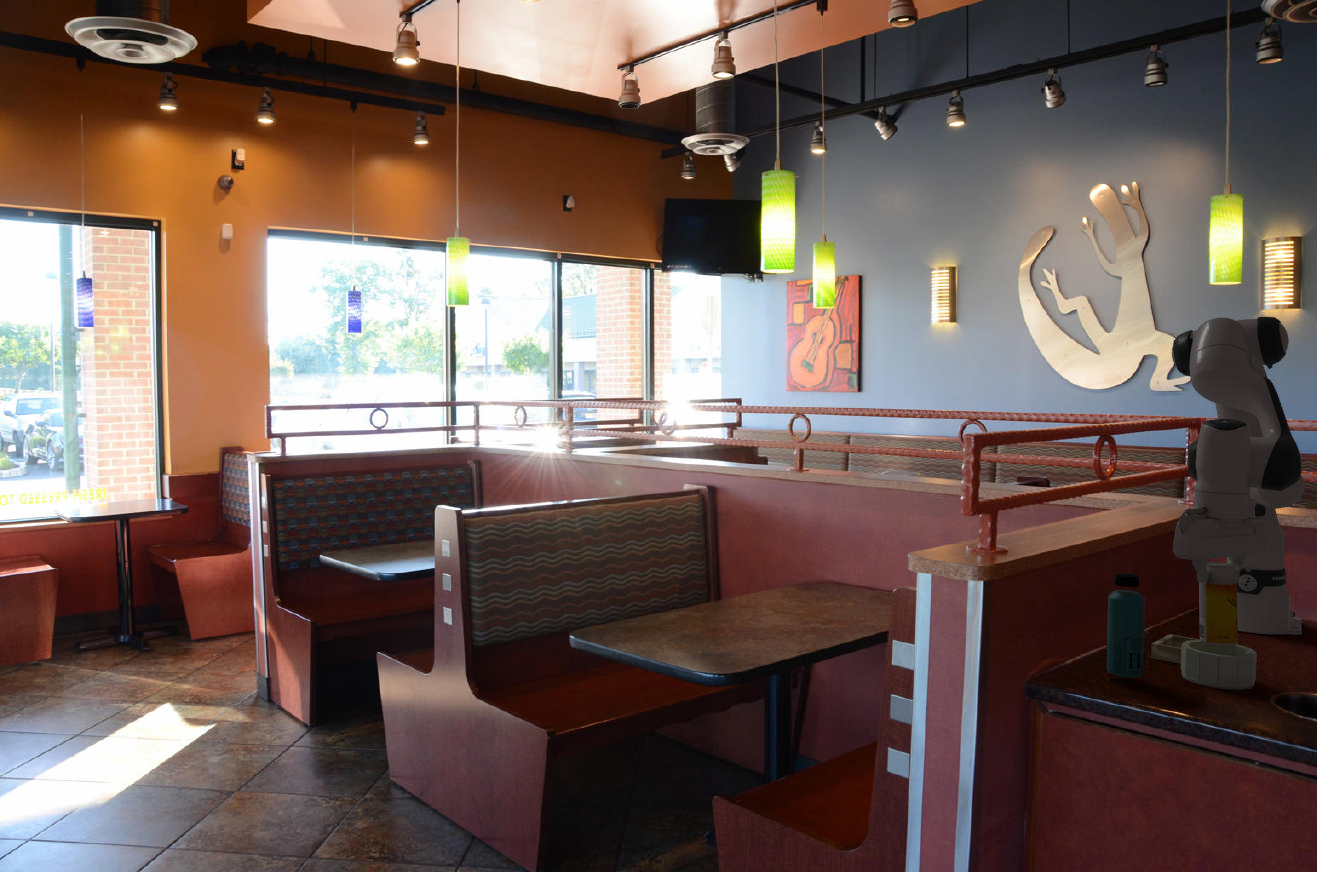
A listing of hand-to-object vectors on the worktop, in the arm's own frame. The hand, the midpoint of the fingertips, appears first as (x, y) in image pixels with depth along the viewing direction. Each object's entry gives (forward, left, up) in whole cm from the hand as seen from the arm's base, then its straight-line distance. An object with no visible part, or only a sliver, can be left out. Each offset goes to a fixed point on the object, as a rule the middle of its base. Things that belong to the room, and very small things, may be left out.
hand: (1218, 580), depth 173 cm
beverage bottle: (+13, -12, -19) cm, 26 cm away
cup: (0, 0, -19) cm, 19 cm away
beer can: (0, +1, -12) cm, 12 cm away
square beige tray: (-12, -8, -19) cm, 23 cm away
